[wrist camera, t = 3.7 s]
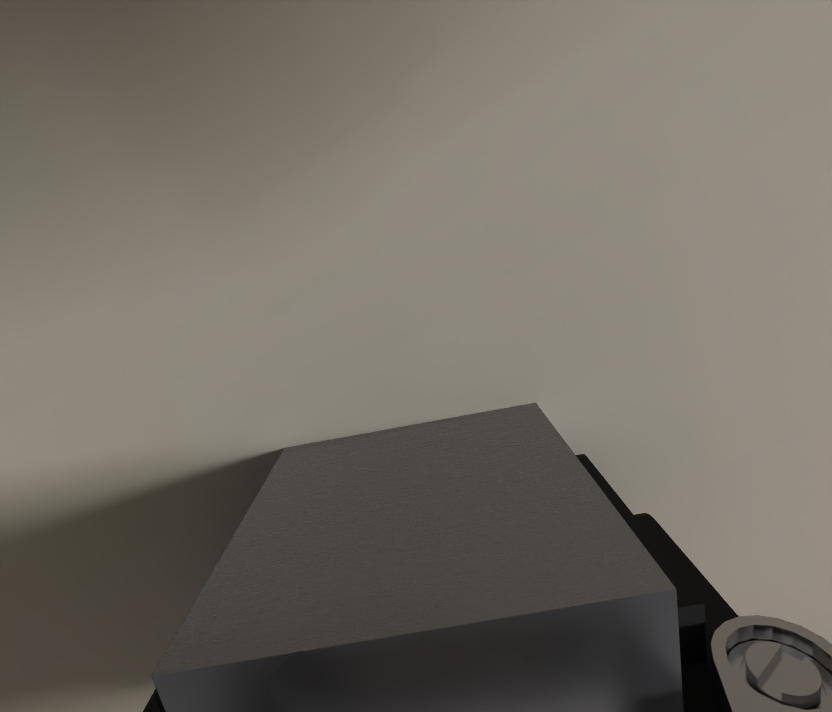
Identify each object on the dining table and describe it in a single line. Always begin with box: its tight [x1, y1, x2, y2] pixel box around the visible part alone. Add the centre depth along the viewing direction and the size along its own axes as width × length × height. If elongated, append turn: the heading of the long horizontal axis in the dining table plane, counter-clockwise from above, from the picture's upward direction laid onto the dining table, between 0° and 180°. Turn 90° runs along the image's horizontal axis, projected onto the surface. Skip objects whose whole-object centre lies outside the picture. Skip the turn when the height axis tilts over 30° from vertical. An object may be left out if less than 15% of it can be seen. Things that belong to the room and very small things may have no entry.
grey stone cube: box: [151, 403, 684, 712], centre depth 7 cm, size 5×5×5 cm
